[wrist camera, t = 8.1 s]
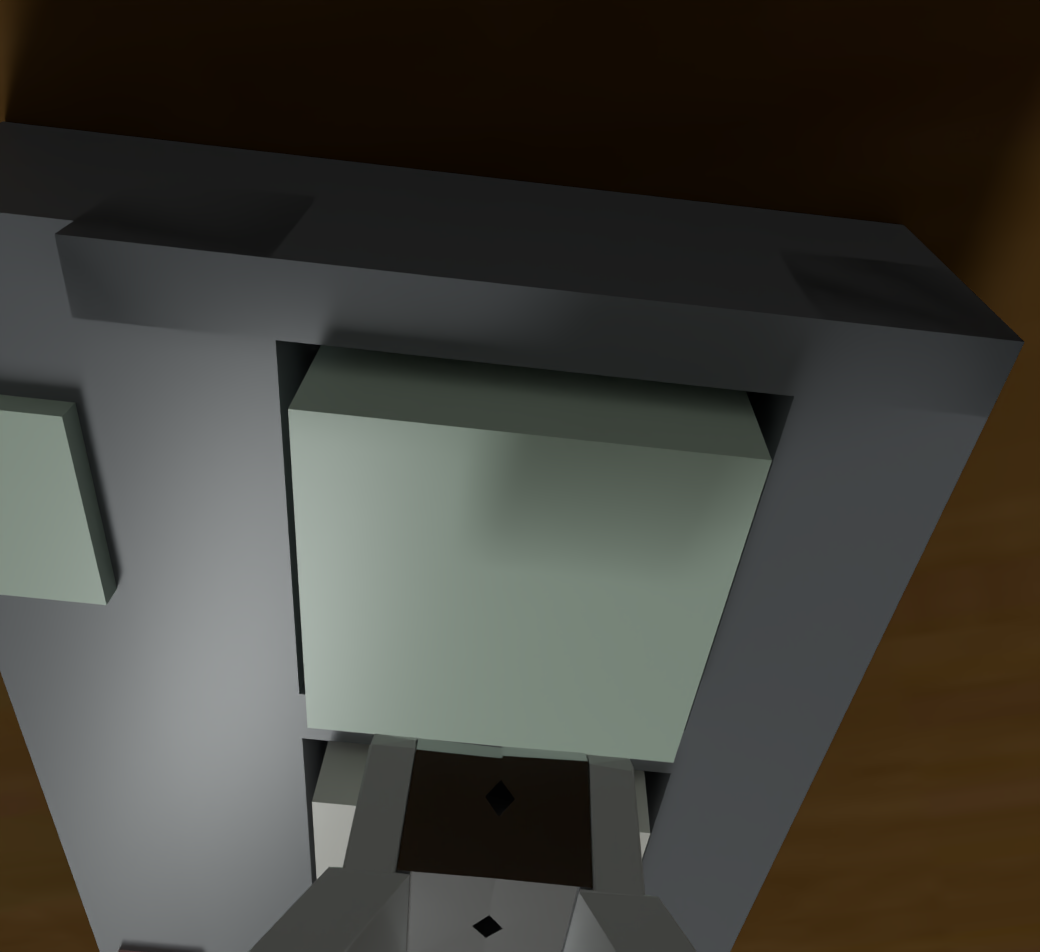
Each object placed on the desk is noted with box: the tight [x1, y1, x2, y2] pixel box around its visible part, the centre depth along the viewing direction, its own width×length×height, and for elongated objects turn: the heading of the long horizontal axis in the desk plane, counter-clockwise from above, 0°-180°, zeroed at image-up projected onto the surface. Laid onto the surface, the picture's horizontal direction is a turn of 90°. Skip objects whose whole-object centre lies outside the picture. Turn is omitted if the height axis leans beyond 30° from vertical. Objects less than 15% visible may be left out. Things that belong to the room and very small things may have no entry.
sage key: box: [288, 345, 772, 763], centre depth 13 cm, size 6×6×2 cm
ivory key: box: [312, 741, 650, 879], centre depth 18 cm, size 6×6×2 cm
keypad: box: [0, 122, 1024, 952], centre depth 19 cm, size 25×15×4 cm, turn 174°
